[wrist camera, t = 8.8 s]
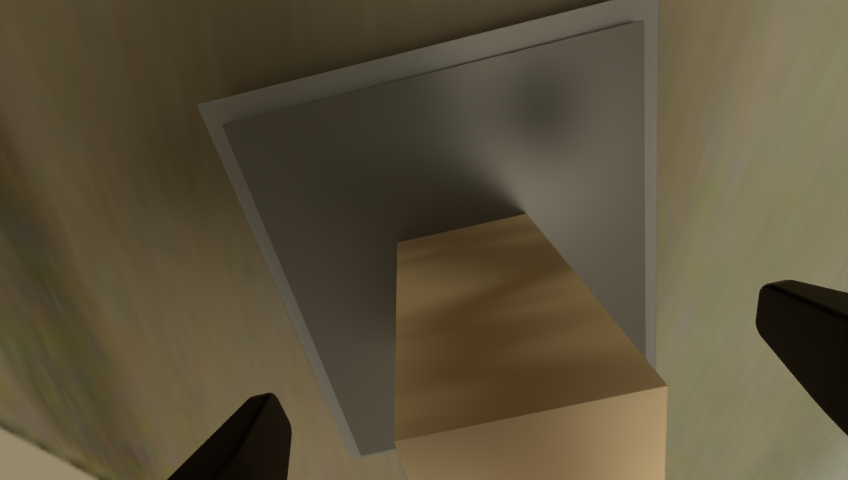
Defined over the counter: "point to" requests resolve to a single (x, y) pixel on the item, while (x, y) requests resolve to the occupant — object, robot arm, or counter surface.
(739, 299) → the counter surface
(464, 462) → the oak block
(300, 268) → the plate
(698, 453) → the counter surface
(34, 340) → the counter surface
